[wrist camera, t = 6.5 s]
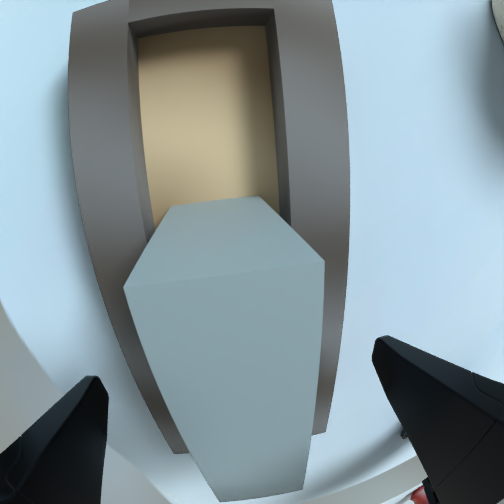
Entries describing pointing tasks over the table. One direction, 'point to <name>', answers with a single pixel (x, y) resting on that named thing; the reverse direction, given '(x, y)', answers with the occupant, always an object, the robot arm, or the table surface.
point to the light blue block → (234, 340)
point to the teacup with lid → (499, 15)
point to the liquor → (419, 496)
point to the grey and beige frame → (209, 141)
